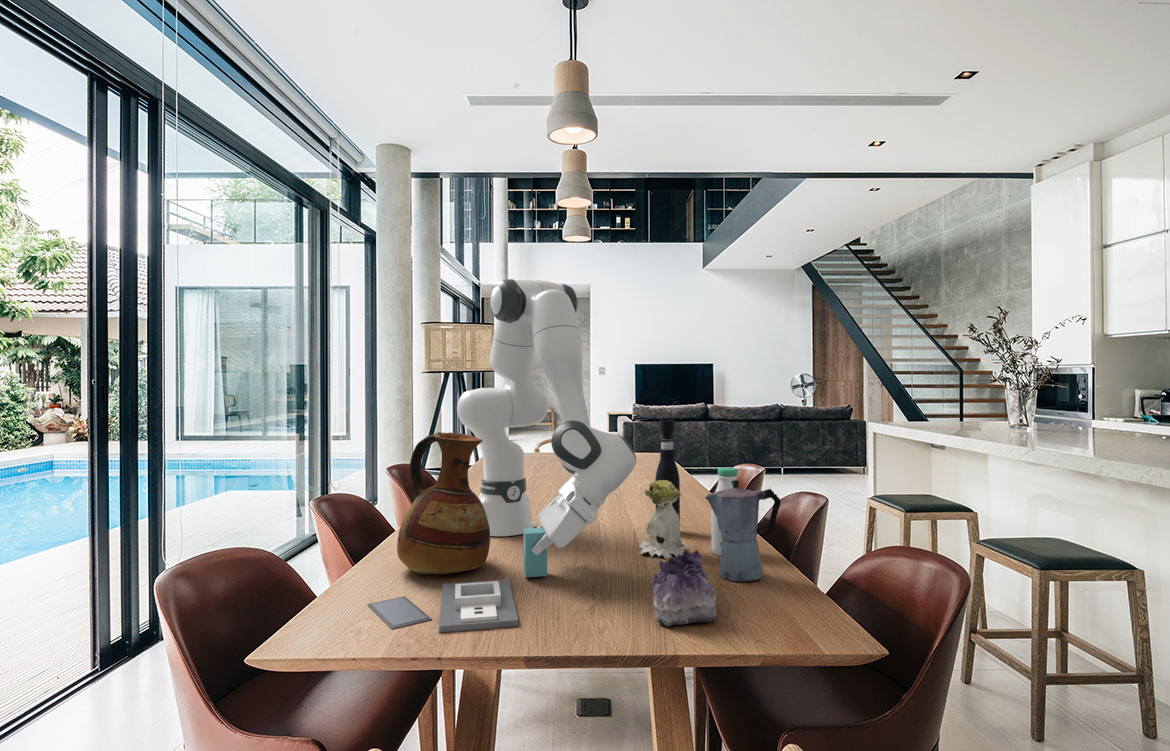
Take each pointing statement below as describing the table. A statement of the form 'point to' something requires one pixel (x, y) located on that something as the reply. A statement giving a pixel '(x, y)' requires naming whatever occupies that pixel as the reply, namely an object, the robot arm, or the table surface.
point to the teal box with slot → (532, 562)
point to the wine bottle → (668, 461)
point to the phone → (399, 612)
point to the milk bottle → (724, 483)
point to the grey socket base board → (477, 606)
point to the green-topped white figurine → (663, 522)
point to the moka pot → (741, 530)
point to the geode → (683, 591)
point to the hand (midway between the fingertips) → (532, 548)
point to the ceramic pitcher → (444, 513)
